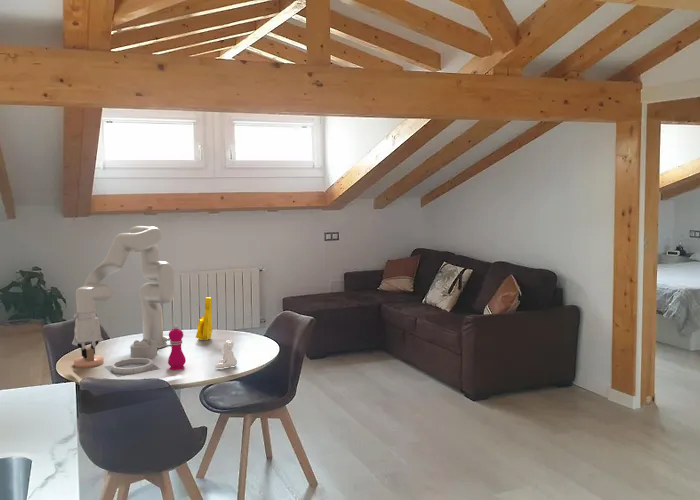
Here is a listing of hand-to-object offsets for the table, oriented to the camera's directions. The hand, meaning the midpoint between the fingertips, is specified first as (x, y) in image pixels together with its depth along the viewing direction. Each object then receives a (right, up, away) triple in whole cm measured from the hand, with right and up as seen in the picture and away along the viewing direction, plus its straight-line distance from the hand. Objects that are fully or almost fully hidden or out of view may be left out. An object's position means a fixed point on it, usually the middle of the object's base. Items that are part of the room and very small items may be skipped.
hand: (88, 356), depth 272 cm
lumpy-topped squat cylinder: (+20, -3, +13) cm, 25 cm away
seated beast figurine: (+61, -5, 0) cm, 61 cm away
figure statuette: (+40, 0, +49) cm, 63 cm away
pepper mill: (+40, -5, -6) cm, 41 cm away
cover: (0, -3, 0) cm, 3 cm away
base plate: (+21, -5, -6) cm, 23 cm away
